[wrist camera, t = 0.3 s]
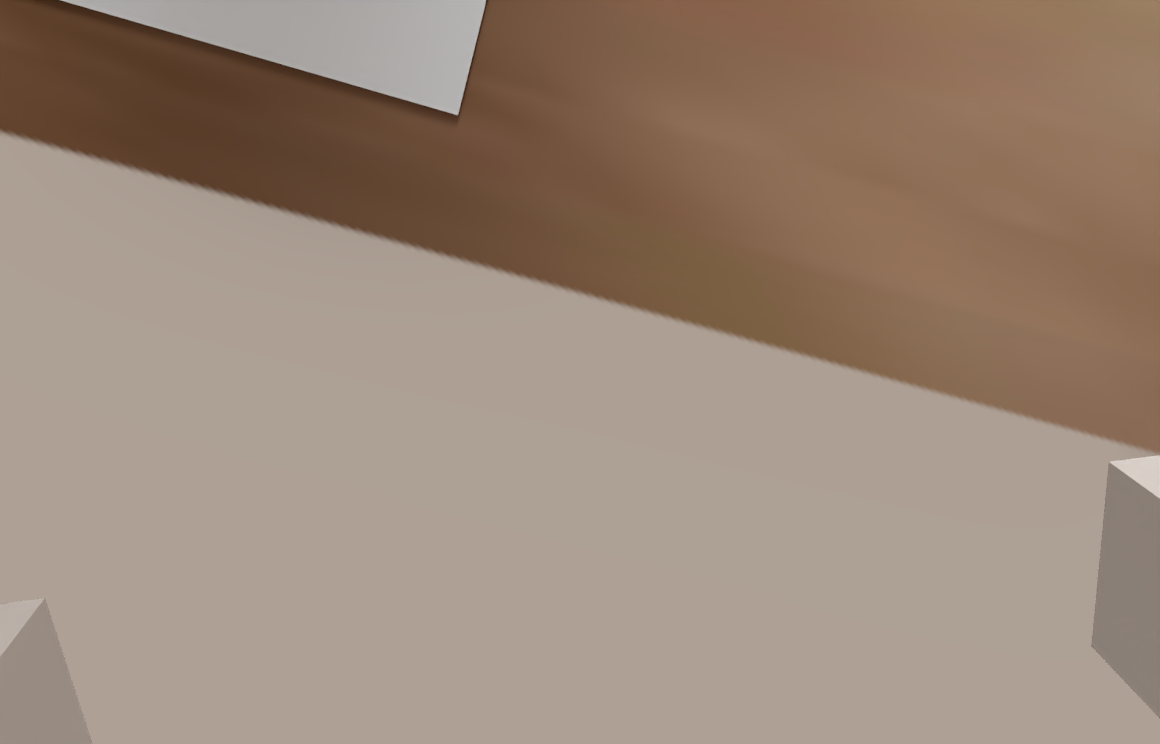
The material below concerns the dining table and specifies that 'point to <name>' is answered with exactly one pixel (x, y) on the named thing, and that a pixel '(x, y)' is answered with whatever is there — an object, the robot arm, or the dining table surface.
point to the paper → (334, 38)
